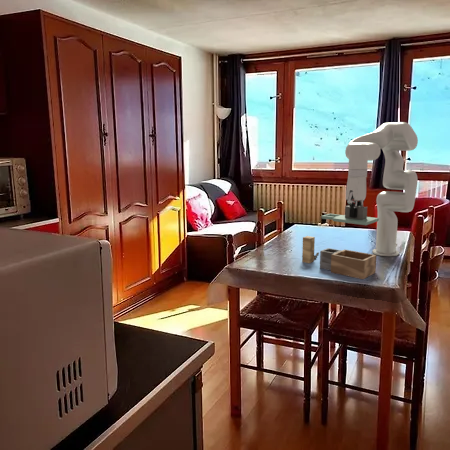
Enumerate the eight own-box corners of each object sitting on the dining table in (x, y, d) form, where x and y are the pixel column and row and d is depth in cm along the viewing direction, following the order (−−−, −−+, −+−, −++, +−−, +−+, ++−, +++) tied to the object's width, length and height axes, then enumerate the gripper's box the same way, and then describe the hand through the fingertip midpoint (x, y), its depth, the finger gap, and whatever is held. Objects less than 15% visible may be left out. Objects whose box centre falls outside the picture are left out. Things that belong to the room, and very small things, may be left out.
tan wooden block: (306, 260, 209) (307, 236, 206) (314, 261, 206) (314, 237, 204) (302, 261, 206) (302, 237, 204) (309, 263, 203) (310, 238, 201)
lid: (332, 215, 198) (332, 202, 197) (378, 220, 183) (379, 206, 182) (318, 219, 190) (318, 205, 188) (366, 225, 175) (366, 210, 173)
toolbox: (330, 263, 202) (331, 247, 201) (375, 272, 188) (376, 255, 186) (316, 269, 194) (317, 252, 192) (363, 279, 179) (363, 260, 177)
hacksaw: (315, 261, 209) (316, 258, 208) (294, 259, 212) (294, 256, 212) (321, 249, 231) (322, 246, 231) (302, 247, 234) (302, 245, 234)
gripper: (358, 171, 189) (356, 213, 192) (339, 174, 177) (338, 218, 180) (374, 172, 184) (372, 214, 187) (356, 175, 172) (354, 220, 175)
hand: (355, 216), depth 184 cm, fingers closed on lid, 4 cm apart
